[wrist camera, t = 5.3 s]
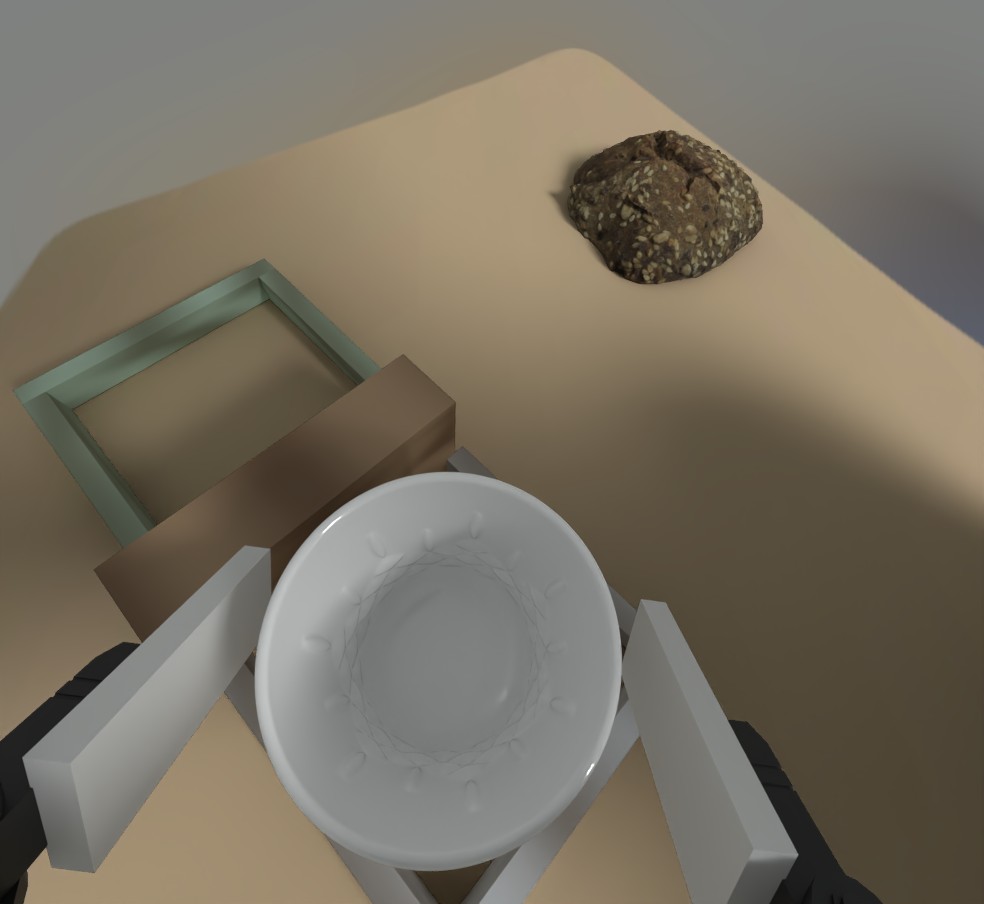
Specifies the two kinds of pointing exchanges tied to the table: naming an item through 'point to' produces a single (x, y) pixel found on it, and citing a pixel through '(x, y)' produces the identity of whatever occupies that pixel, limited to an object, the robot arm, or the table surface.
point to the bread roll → (664, 207)
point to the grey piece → (285, 513)
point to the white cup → (438, 671)
